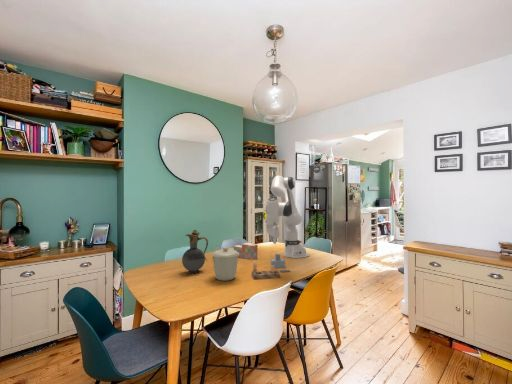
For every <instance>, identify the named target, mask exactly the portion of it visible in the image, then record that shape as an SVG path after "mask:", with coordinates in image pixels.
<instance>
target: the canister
mask: <svg viewBox="0 0 512 384" xmlns="http://www.w3.org/2000/svg"><path fill="white" fill-rule="evenodd" d="M238 255H239V252H237V251H235V250H234V249H232V248H231V249H230V248H229V247H228V246H223V248H222V249H217V250H215V251H214V252H212V253H211V256H212V261H213V271H214V277H215V278H216V279H217V280H218V281H223V282H225V281H231V280H234V279H235V278H236V275H237V269H238V259H239V257H238Z"/></svg>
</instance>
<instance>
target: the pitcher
mask: <svg viewBox="0 0 512 384" xmlns="http://www.w3.org/2000/svg"><path fill="white" fill-rule="evenodd" d="M200 233H201V231H200V232H198V230H197V229H194V230H192V231H191V233H187V234H185V235H184V236H185V237H188V238H189V248H188V249H187V250H186V251H185V252H184V253H183V254H182V257H181V263H182V265H183V267H184V269H185V270H186V271H187V273H188V274H190V275H194V274H195V275H196V274H199V272H200V269H202V267H203V266H204V265H205V262H207V261H208V260H207V258H206V256H205V253H206V251H207V248H208V246H209V240H208V238H207V237H206V236H201V237H199V236H200ZM203 239H204V240H205V242H206V244H205V245H206V246H205V248H204V251H203V250H202V249H200V248H198V242H199V241H200V240H203Z"/></svg>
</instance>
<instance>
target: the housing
mask: <svg viewBox="0 0 512 384" xmlns="http://www.w3.org/2000/svg"><path fill="white" fill-rule="evenodd" d="M271 265H275V269H280V268H281V269H285V268H286V260H285V258H281V254H280V253H275V257H274V258H273V259H270V266H271ZM284 267H285V268H284Z"/></svg>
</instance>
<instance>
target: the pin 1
mask: <svg viewBox="0 0 512 384" xmlns="http://www.w3.org/2000/svg"><path fill="white" fill-rule="evenodd" d="M257 262H258V261H257V260H252V269H253V270H252V272H254V271H258V270H257V268H258V267H257V264H258V263H257Z"/></svg>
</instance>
